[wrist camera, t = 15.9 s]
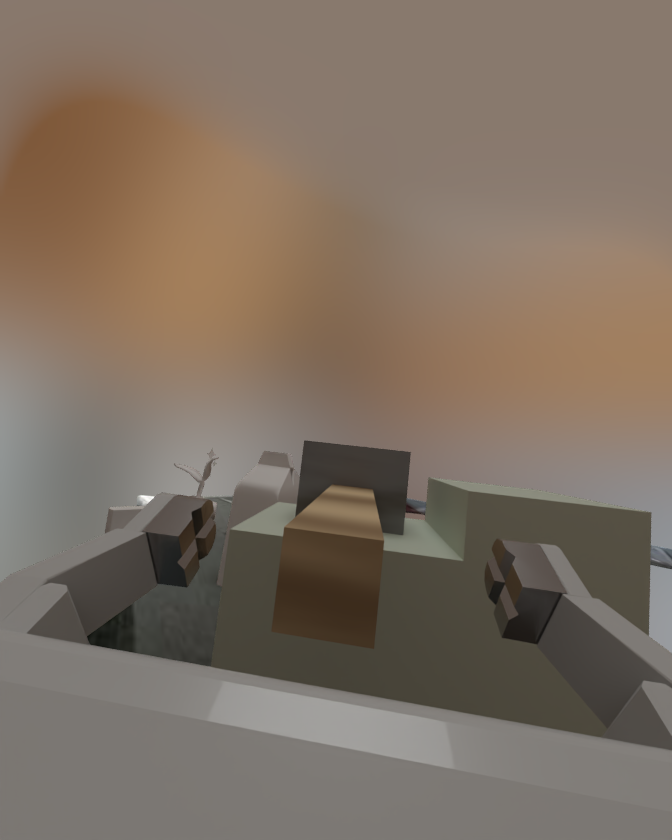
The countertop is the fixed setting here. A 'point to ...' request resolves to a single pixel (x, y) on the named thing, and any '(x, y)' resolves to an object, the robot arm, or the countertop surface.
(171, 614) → the countertop surface
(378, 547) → the mallet
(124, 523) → the cylinder with rectangular tab
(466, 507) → the block
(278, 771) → the robot arm
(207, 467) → the potted plant
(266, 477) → the milk
